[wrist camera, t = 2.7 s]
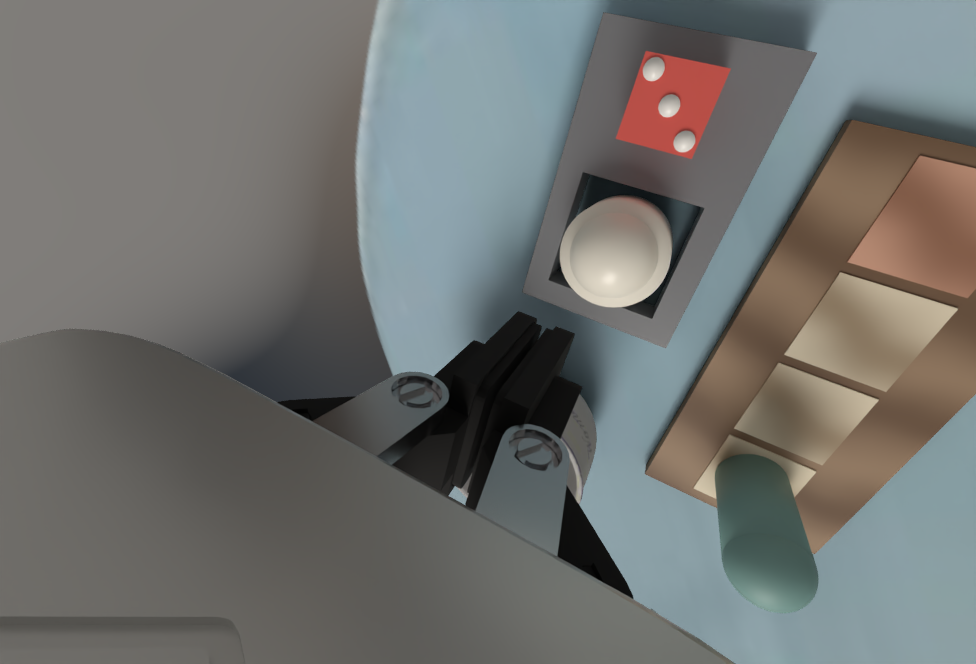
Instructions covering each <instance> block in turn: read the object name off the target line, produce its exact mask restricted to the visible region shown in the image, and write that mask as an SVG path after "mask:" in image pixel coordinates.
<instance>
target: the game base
mask: <svg viewBox="0 0 976 664" xmlns="http://www.w3.org/2000/svg"><path fill="white" fill-rule="evenodd" d="M816 54H817V53H815V52H810V51H805V50H800V49H794V48H789V47H784V46H778V45H773V44H768V43H763V42H757V41H752V40H747V39H742V38H736V37H731V36H726V35H720V34H715V33H710V32H705V31H699V30H694V29H689V28H683V27H678V26H673V25H668V24H662V23H657V22H652V21H647V20H641V19H636V18H631V17H625V16H620V15H615V14H610V13H604V12H603V16H602V19H601V23H600V26H599V29H598V33H597V36H596V40H595V43H594V47H593V50H592V53H591V57H590V60H589V64H588V67H587V71H586V74H585V78H584V81H583V84H582V88H581V91H580V95H579V98H578V102H577V105H576V108H575V112H574V115H573V119H572V122H571V126H570V129H569V133H568V136H567V139H566V143H565V146H564V150H563V153H562V157H561V160H560V163H559V167H558V170H557V174H556V177H555V181H554V184H553V188H552V191H551V194H550V198H549V201H548V205H547V208H546V212H545V215H544V218H543V222H542V225H541V229H540V232H539V236H538V239H537V243H536V246H535V249H534V253H533V256H532V260H531V263H530V267H529V270H528V273H527V277H526V280H525V284H524V287H523V291H522V293H525V294H527V295H530V296H533V297H535V298H538V299H540V300H543V301H545V302H548V303H551V304H553V305H556V306H558V307H561V308H563V309H566V310H569V311H571V312H574V313H576V314H579V315H581V316H584V317H587V318H589V319H592V320H594V321H597V322H599V323H602V324H605V325H607V326H610V327H612V328H615V329H617V330H620V331H623V332H625V333H628V334H630V335H633V336H635V337H638V338H641V339H643V340H646V341H648V342H651V343H653V344H656V345H659V346H661V347H664V348H666V347H667V345H668V343H669V341H670V339H671V337H672V335H673V333H674V331H675V329H676V328H677V326H678V324H679V322H680V320H681V318H682V316H683V314H684V312H685V310H686V308H687V306H688V304H689V302H690V300H691V298H692V296H693V294H694V292H695V290H696V288H697V287H698V285H699V283H700V281H701V279H702V277H703V275H704V273H705V271H706V269H707V267H708V265H709V263H710V261H711V259H712V257H713V255H714V253H715V251H716V249H717V247H718V246H719V244H720V242H721V240H722V238H723V236H724V234H725V232H726V230H727V228H728V226H729V224H730V222H731V220H732V218H733V216H734V214H735V212H736V210H737V208H738V206H739V205H740V203H741V201H742V199H743V197H744V195H745V193H746V191H747V189H748V187H749V185H750V183H751V181H752V179H753V177H754V175H755V173H756V171H757V169H758V167H759V165H760V164H761V162H762V160H763V158H764V156H765V154H766V152H767V150H768V148H769V146H770V144H771V142H772V140H773V138H774V136H775V134H776V132H777V130H778V128H779V126H780V125H781V123H782V121H783V119H784V117H785V115H786V113H787V111H788V109H789V107H790V105H791V103H792V101H793V99H794V97H795V95H796V93H797V91H798V89H799V87H800V85H801V84H802V82H803V80H804V78H805V76H806V74H807V72H808V70H809V68H810V66H811V64H812V62H813V60H814V58H815V56H816ZM590 174H591V175H594V176H598V177H601V178H605V179H608V180H611V181H615V182H618V183H621V184H625V185H628V186H632V187H635V188H638V189H642V190H645V191H649V192H652V193H655V194H659V195H662V196H665V197H669V198H672V199H676V200H679V201H682V202H686V203H689V204H693V205H696V206H699V207H701V209H700V211H699V213H698V215H697V218H696V220H695V222H694V224H693V226H692V228H691V230H690V232H689V235H688V237H687V239H686V241H685V243H684V245H683V247H682V249H681V252H680V254H679V256H678V258H677V260H676V262H675V264H674V266H673V269H672V271H671V273H670V275H669V277H668V279H667V281H666V283H665V286H664V288H663V290H662V292H661V294H660V296H659V298H658V301H657V303H656V305H655V306H653V305H650V304H647V303H645V302H642V301H640V302H638V303H636V304H633V305H629V306H625V307H615V308H613V307H604V306H599V305H596V304H593V303H591V302H589V301H587V300H585V299H584V298H582V297H581V296H579V295H578V294H577V293H576V292H575V291H574V290H573V289H572V288H571V286H570V285H569V284H568V282H567V280H566V279H565V277H564V274H563V273H562V272H560V271H558V270H559V267H560V247H561V242H562V239H563V236H564V234H565V232H566V230H567V228H568V226H569V225H570V224H571V222H572V221H573V220H574V219H575V218H576V215H577V212H578V209H579V206H580V203H581V199H582V196H583V193H584V190H585V187H586V184H587V181H588V178H589V175H590Z"/></svg>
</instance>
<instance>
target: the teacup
mask: <svg viewBox="0 0 976 664" xmlns="http://www.w3.org/2000/svg"><path fill="white" fill-rule="evenodd" d="M560 440H561V441H562V442H563V443H564V444H565V446H566V448H567V450H568V452H569V459H570V463H569V471H568V478H567V486H568V488H569V489H570V491H571V493H572V494H573V496H574V497H575V499H576V501H577V502H578V504H580V501H581V499H582V494H583V487H584V485H585V482H586V480H587V477H588V474H589V471H590V468H591V465H592V462H593V458H594V454H595V449H596V440H597V438H596V427H595V422H594V419H593V415H592V413H591V411H590V409H589V407H588V405H587V403H586V402H585V400H584V399H583V397H582V396H581V395H580V394H579V397H578V399H577V401H576V404H575V406H574V409H573V411H572V413H571V416H570V418H569V420H568V423H567V425H566V427H565V430H564V432H563V435H562V437H561V439H560ZM471 476H472V474H471ZM471 476H470V477H469V479H468V480H467V482H466V483H465V485H464V486H463V488H462V489H460V488H458V487H457V488H458V489H459V490H460V491H461V492H462V493H463V494H464V495H465V496H466V497H468V494H469V493H467V490H468V486H469V483H470V479H471Z"/></svg>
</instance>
